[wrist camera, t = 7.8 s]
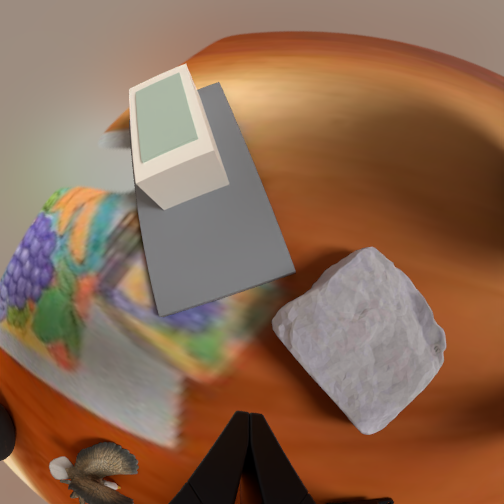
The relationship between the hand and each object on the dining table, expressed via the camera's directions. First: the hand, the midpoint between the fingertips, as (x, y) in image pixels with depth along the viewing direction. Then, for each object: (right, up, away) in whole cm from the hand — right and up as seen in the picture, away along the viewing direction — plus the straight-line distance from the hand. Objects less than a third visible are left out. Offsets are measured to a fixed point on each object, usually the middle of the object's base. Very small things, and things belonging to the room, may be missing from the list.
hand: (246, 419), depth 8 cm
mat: (-5, +12, +17) cm, 21 cm away
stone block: (+9, -1, +12) cm, 15 cm away
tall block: (-5, +10, +13) cm, 17 cm away
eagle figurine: (-14, -17, +11) cm, 24 cm away
